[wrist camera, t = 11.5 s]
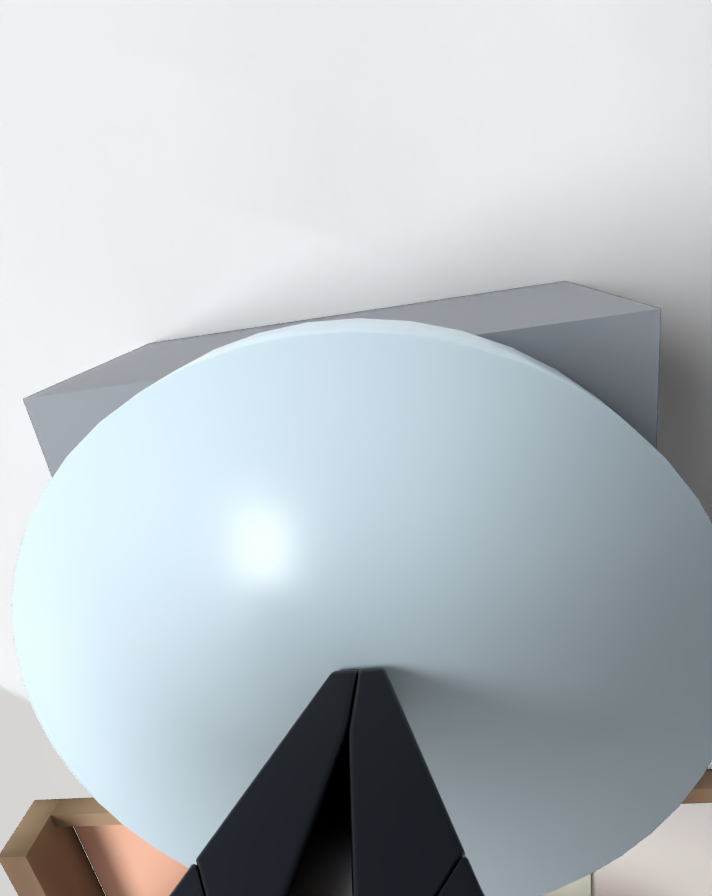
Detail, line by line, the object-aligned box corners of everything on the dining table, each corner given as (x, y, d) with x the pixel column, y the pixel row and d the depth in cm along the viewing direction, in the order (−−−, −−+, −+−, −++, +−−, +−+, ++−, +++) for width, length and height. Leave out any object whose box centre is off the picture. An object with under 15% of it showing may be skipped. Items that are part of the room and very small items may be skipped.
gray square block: (565, 281, 13) (660, 308, 8) (574, 639, 16) (645, 804, 11) (149, 343, 14) (22, 398, 9) (239, 663, 17) (180, 822, 13)
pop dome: (616, 250, 11) (784, 264, 6) (613, 693, 15) (717, 915, 10) (88, 332, 12) (-110, 396, 8) (211, 717, 16) (130, 923, 11)
